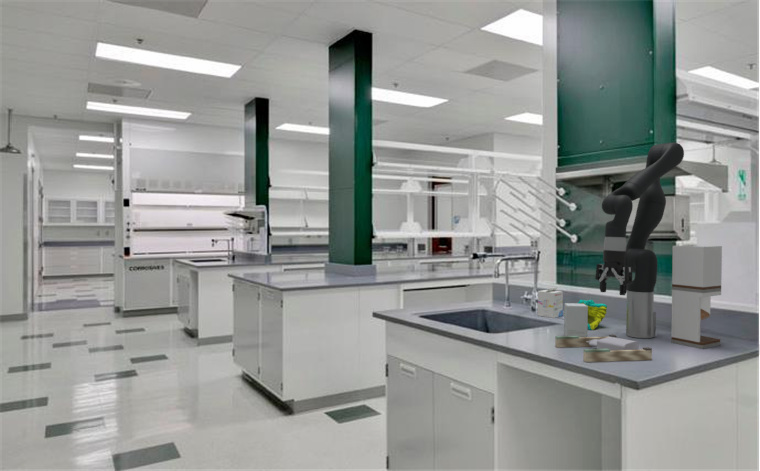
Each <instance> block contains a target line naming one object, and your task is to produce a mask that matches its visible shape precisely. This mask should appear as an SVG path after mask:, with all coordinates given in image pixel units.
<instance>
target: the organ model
mask: <svg viewBox="0 0 760 471" xmlns="http://www.w3.org/2000/svg"><path fill="white" fill-rule="evenodd" d="M577 303H578V304H585V305H586V306H588V331H595V329H596V328H598V326H599V325H600V323H602V321H603V319H604V318H605V317H606V315H607V309H608V306H607V304H605V303H596V302H595V301H594V300H593V299H588V300H585V299H579V301H578V302H577Z"/></svg>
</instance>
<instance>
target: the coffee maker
mask: <svg viewBox="0 0 760 471" xmlns="http://www.w3.org/2000/svg"><path fill="white" fill-rule="evenodd" d="M722 255H723V246H722V245H716V246H715V245H714V246H713V245H712V246H695V245H694V244H691V245H689V244H688V245H685V244H683V245H681V244H680V245H672V257H671V258H672V262H671V264H672V271H671V272H672V273H671V277H672V278H671V279H672V280H671V334H670V335H671V338H670V339H671V344H672V343H673V344H677V345H682V346H686V347H691V348H696V349H699V350H700V349H701V350H704V349H709V348H713V347H717V346H721V339H720V338H717V337H710V336H705V335H701V321H703V320H706V319H709V318H710V317H711V302H712V301H711V297H714V296H722V270H723V269H722V266H723V264H722V262H723V260H722V258H723V256H722Z"/></svg>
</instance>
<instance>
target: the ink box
mask: <svg viewBox="0 0 760 471" xmlns="http://www.w3.org/2000/svg"><path fill="white" fill-rule="evenodd" d="M557 289H558V287H557V286H556V287H552V288H547V289H543V290H538V291H537V316H538V317H546V318H552V319H555V318H558V317H564V307H563V306H564V304H563V303H564V302H563V301H564V292H563V290H557Z"/></svg>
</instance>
